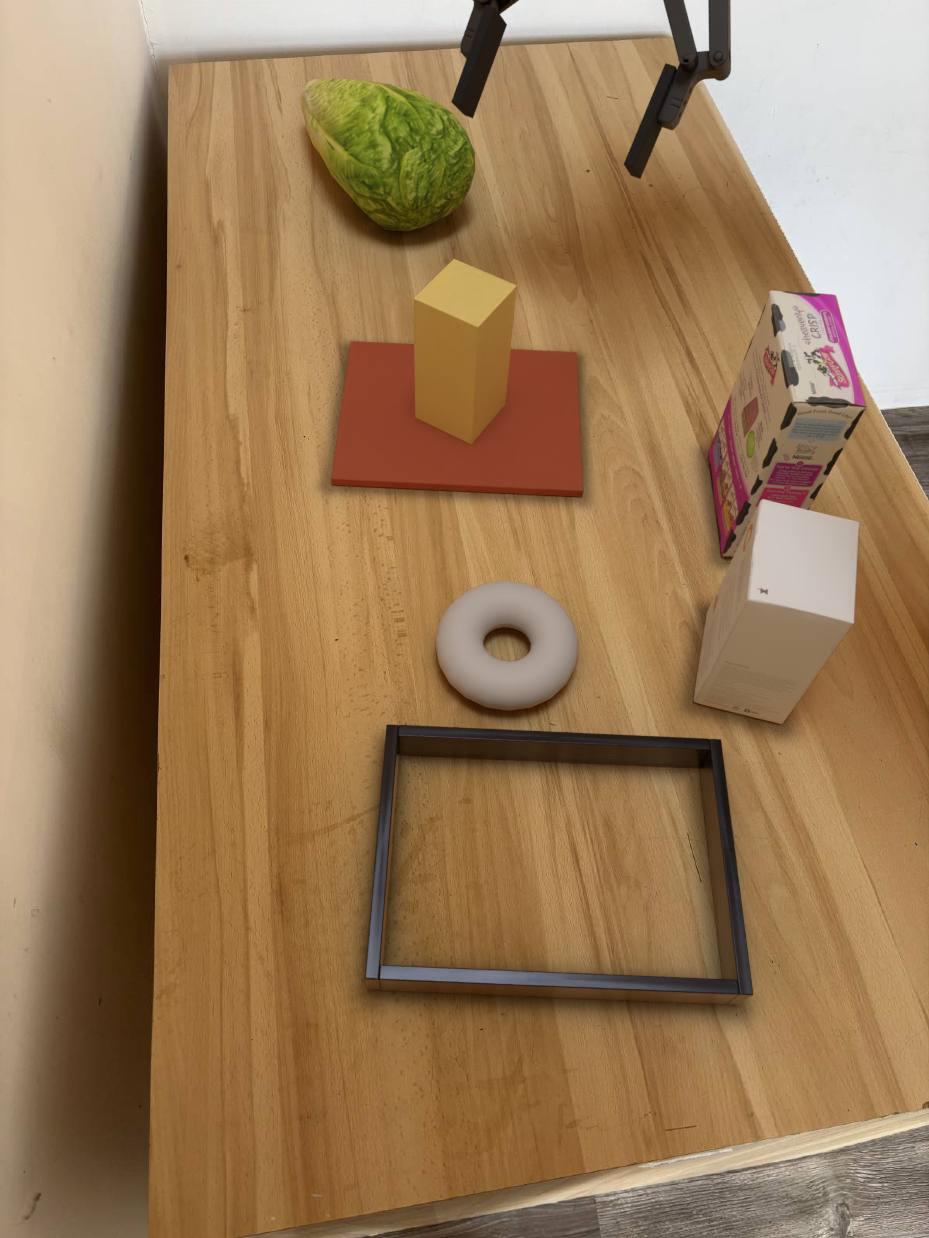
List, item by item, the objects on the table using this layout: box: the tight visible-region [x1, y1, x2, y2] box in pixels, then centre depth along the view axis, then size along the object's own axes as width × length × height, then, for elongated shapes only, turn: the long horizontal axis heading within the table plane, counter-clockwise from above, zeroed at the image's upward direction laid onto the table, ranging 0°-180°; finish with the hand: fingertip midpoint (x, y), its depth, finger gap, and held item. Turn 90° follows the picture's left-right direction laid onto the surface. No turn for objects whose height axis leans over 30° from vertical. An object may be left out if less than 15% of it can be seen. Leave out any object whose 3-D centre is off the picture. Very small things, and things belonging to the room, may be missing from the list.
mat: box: [330, 340, 584, 498], centre depth 78 cm, size 20×16×1 cm
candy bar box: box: [707, 290, 868, 559], centre depth 68 cm, size 11×5×16 cm, turn 178°
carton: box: [413, 258, 518, 444], centre depth 73 cm, size 6×6×12 cm
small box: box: [693, 499, 861, 725], centre depth 61 cm, size 8×6×13 cm
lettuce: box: [299, 78, 476, 232], centre depth 92 cm, size 12×24×13 cm
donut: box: [434, 580, 580, 711], centre depth 65 cm, size 10×4×10 cm
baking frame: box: [364, 723, 754, 1006], centre depth 57 cm, size 22×16×3 cm
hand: (544, 141), depth 66 cm, fingers open, 13 cm apart
